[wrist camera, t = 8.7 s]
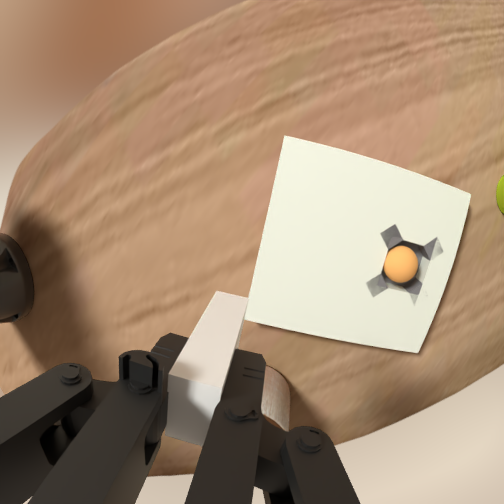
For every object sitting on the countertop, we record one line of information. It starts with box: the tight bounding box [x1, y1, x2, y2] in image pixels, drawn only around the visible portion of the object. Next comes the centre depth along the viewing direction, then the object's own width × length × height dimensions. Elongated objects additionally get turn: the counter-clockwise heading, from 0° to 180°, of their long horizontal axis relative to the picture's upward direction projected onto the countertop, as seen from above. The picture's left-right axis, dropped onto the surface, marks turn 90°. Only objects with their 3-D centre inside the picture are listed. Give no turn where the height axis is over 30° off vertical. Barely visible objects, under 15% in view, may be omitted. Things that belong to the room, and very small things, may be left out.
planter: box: [201, 366, 290, 448], centre depth 35 cm, size 11×11×10 cm
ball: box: [383, 246, 418, 283], centre depth 31 cm, size 4×4×4 cm
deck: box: [244, 136, 471, 353], centre depth 32 cm, size 22×20×2 cm
